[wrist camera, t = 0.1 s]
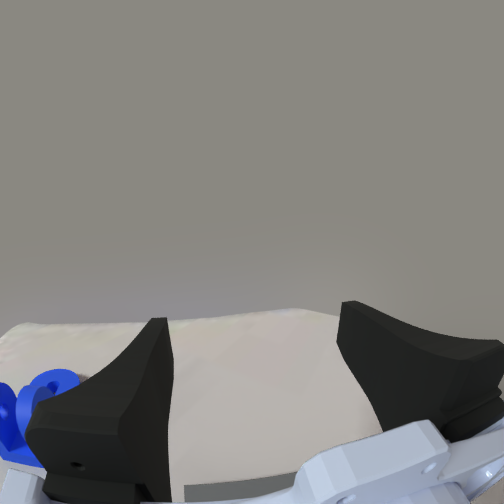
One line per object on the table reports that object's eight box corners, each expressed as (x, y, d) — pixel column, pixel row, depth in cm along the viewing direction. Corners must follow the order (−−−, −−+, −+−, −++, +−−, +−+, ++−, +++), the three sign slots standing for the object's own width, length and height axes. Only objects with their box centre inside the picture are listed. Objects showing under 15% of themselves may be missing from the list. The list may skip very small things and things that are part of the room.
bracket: (59, 471, 23) (24, 414, 21) (4, 460, 21) (-33, 404, 19) (89, 380, 40) (72, 328, 38) (43, 378, 39) (25, 328, 36)
